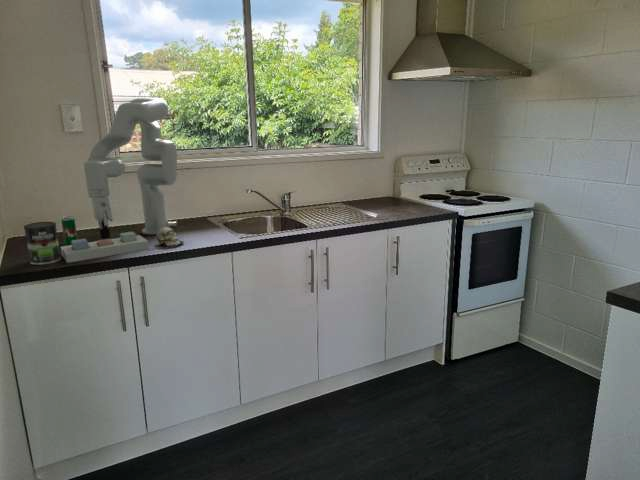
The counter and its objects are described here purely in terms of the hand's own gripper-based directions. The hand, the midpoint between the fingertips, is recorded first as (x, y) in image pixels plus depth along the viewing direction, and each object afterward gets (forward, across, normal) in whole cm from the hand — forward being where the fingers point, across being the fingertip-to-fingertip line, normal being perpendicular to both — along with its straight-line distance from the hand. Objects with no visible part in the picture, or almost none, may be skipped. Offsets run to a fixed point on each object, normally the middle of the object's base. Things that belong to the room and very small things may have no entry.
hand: (105, 237), depth 185 cm
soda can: (+6, +21, +10) cm, 23 cm away
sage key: (+4, 0, -9) cm, 9 cm away
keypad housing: (+6, 0, 0) cm, 6 cm away
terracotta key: (+5, 0, +1) cm, 5 cm away
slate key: (+3, 0, +9) cm, 10 cm away
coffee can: (+6, +2, +22) cm, 22 cm away
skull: (+6, -6, -23) cm, 25 cm away
